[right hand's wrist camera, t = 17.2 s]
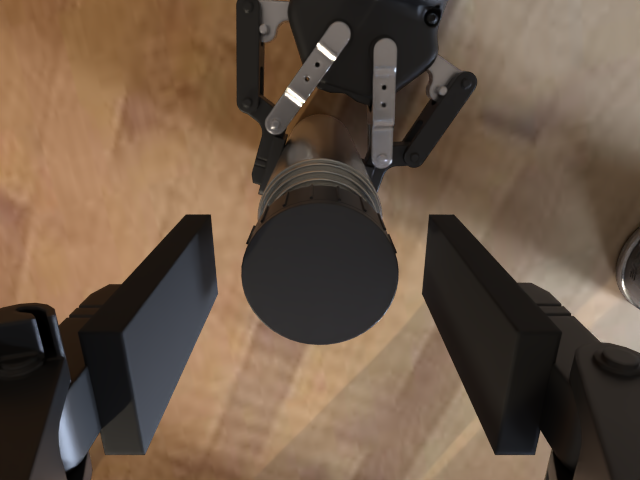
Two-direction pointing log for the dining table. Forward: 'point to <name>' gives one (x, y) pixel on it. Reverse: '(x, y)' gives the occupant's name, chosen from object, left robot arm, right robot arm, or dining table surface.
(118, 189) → the dining table surface
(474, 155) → the dining table surface
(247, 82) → the left robot arm
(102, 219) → the dining table surface
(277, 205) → the cap
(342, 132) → the bottle
